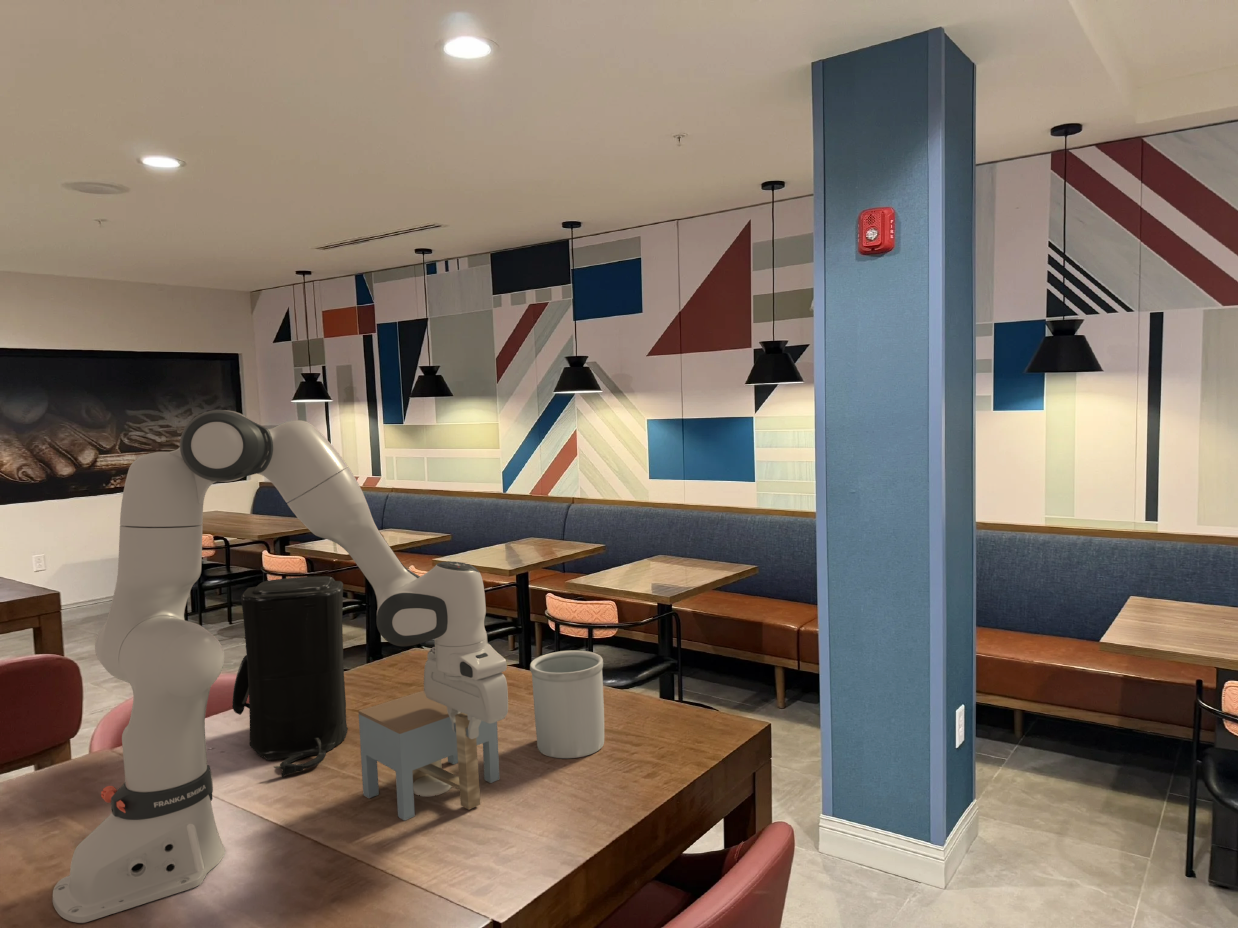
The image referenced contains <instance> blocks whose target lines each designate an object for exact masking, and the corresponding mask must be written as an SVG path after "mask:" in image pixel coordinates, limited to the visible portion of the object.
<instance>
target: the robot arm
mask: <svg viewBox="0 0 1238 928" xmlns="http://www.w3.org/2000/svg"><path fill="white" fill-rule="evenodd" d="M252 475H261V476H262V477H264V478H266V479H267V480H268V481H269V482H271V484H272V486H274V487H275V488H276V490H277V491H278V492H279V494H280V496H281V497H282V499H283V500H284V501H285V503H287V504H286V505H287V506H288V508H290V510H291V511H292V513H293V514H294V515H295V516H296V518H297V519H298V520H299V521H300V522H301V523H302V524H303V525H304V526H305V527H306V528H307V529H308V530H309V531H310V532H311V533H312V534H313V535H315V536H316V537H318V538H322V539H325V540H328V541H330V542H333V543H335V544H337V545H338V546H340V547H341V548H342V549H343V550H345V551H346V552H347V554H348V555H349V556H350V557H351V559H352V560H353V562H354V563H355V564H356V565H357V567H358V569H360V571H361V573H362V574H363V575H364V576H365V578H366V579H367V581H368V582H369V584H370V585H371V587H372V589H373V591H374V594H375V598H376V607H377V610H376V619H375V620H376V621H375V622H376V627H377V631H378V632H379V634H380V635H381V636H382V638H383V639H384V640H385V641H386V642H388V643H389V644H391V645H394V646H397V647H410V646H415V645H418V644H422V643H427V642H429V641H433V640H434V646H433V647H432V648H430V649H429V651H428V652H427V660H426V661H425V664H424V670H423V671H424V672H423V691H424V693H425V695H426V697H427V698H428V699H430V700H433V701H435V702H437V703H440V704H442V705H445V706H447V712H448V714H449V717H450V719H451V722H452V730H453V731H454V732H456V721H455V715H457V714H460V713H461V712H462V713H464V714H467V716H468V720H470V722H469V726H468V727H466V728H465V732H466V734H465V736H466V737H468V738H470V739H474V738H477V737H478V736H479V725H480V723H481V721H484V722H486V723H489V724H491V723H494V722H497V723H498V722H499V721H501V720H504V719H505V718H506V717H507V715H508V712H509V697H508V696H509V693H508V683H507V678H506V676H505V674H504V673H503V672H506V671H507V667H508V666H507V665H508V664H507V660H506V658H504V656H502V655H501V654H500V652H499V653H498V652H497V650H495V648H493V647H492V645H491V644H490V643H488V634H487V631H486V628H485V617H486V614H487V608H486V594H485V586H484V581H483V577H482V574H481V572H480V570H478V568H477V567H475V566H473V565H472V564H470V563H465V562H461V561H451V560H450V561H442V562H438V563H436V565H435V566H433V567H432V568H431V569H430V570H428V571H427V572H425V573H424V574H423V575H421V576H420V575H418V574H416V573H415V572H414V571H411V570H410V569H408V568H407V567H406V566H405V565H404V564H403V563H402V561H400V559H399V558H398V556H397V555H396V553H395V551H394V550H393V549H392V548H391V546H390V545H389V543H388V542H387V540H386V539H385V538H384V536H383V535H382V534H381V532H380V530H379V529H378V527H377V525H376V523H375V521H374V518H373V516H372V513H371V510H370V507H369V504H368V502H367V499H366V497H365V494H364V492H363V490H362V488H361V486H360V485H359V484H360V483H359V482H358V480H357V479H356V476H355V475H354V473H353V472H352V470H351V469H350V467H349V466H348V465H347V463H346V462H345V460H344V459H343V457H342V456H341V455H340V453H339V451H337V449H336V448H335V447H334V446H333V445H332V444H331V442H330V441H329V440H328V439H327V438H326V437H325V435H323V434H322V432H321V431H320V430H318V429H317V428H316V426H315V425H313V424H312V423H310V421H309V422H308V421H306V420H301V419H300V420H299V419H298V420H297V419H296V420H289V421H286V422H283V423H280V424H279V425H277V426H275V427H271V428H267V427H265V426H263V425H261V424H258V422H255V421H253V420H252V419H250V418H249V417H247V416H246V415H244V414H242V413H240V412H237V411H235V410H229V409H227V410H226V409H216V410H215V409H214V410H209V411H205V412H202V413H200V414H198V415H197V416H195V417H194V418H192V419H191V420H190V421H189V422H188V423H187V424H186V425H185V427H184V429H183V431H182V433H181V436H180V440H179V446H178V448H177V449H175V450H171V451H156V452H149V453H147V454H144V455H142V456H139V457H137V458H136V459H134V461H133V462H132V463H131V465H130V466H129V468H128V471H127V475H126V478H125V482H124V483H125V484H124V488H123V492H122V498H121V506H120V513H119V514H120V518H119V539H118V540H119V541H118V542H119V543H118V561H117V562H118V563H117V564H118V565H117V576H116V582H115V588H114V591H113V596H112V600H111V603H110V607H109V611H108V615H107V618H106V621H105V623H104V624H103V626H101V628H100V629H99V631H98V633H97V634H96V639H95V642H94V649H95V650H94V651H95V652H94V653H95V655H96V658H97V660H98V662H100V665H102V667H103V668H104V669H105V670H106V672H107V673H108V674H110V675H111V676H112V677H114V678H115V679H117V680H120V681H123V682H125V683H128V684H130V687H131V690H132V695H133V697H132V698H133V699H132V700H133V701H132V708H131V711H130V712H131V713H130V719H129V722H128V724H127V725H126V726H125V728H124V729H123V732H122V734H121V743H122V754H123V755H122V757H123V769H124V783H123V784H122V785H121V786H120V787H119V789H116V787H114V785H107V786H105V787H104V788H102V790H101V792H100V796H101V799H103V801H104V802H106V803H107V804H109V803H110V808H111V813H110V814H109V815H108V816H107V817H106V818H105V819H104V820H103V821H102V822H101V823H100V824H99V825H97V827H96V828H95V829H93V830H92V831H91V832H90V833H89V834H88V835H87V836H86V837H85V838H84V839H83V840H82V841H80V842H79V844H78V845H77V846H76V848H75V849H74V852H73V855H72V857H71V862H70V869H69V870H70V871H69V875H67V876H65V877H62V878H61V879H60V880H58V882H57V883H56V884H55V885H54V887H53V889H52V905H53V908H54V909H55V911H56V912H57V915H59V916H60V917H61V918H63V919H64V920H66V921H68V922H73V923H78V924H85V923H88V922H92V921H95V920H98V919H101V918H105V917H107V916H109V915H112V914H116V913H120V912H122V911H125V910H129V909H132V908H135V907H139V906H141V905H145V904H147V903H151V902H154V901H157V900H160V899H163V898H167V897H169V896H173V895H175V894H179V893H182V892H184V891H188V890H191V889H193V888H196V887H198V886H200V885H201V884H202V883H203V881H205V877H206V876H207V874H208V873H209V872H210V871H211V870H212V869H214V868H215V867H216V866H217V865H218V864H219V863H220V862H221V861H222V859H223V858H224V856H225V852H226V849H225V848H226V847H225V845H224V843H223V842H222V839H221V836H220V833H219V831H218V828H217V823H216V820H215V816H214V815H215V813H214V812H213V805H212V801H213V793H214V784H213V774H212V772H211V766H210V765H209V764H208V760H207V758H208V757H207V743H206V727H205V726H206V713H207V706H208V705H207V704H208V700H209V695H210V692H211V691H210V690H211V688H212V686H213V684H214V683H216V682H217V680H218V678H219V677H220V674H221V673H222V671H223V667H224V663H225V652H224V649H223V645H222V644H221V642H220V641H219V639H218V638H217V637H216V636H215V635H214V634H213V633H211V632H210V631H209V630H207V629H206V628H205V627H203V626H202V625H201V624H198V623H196V622H192V621H190V620H185V610H186V606H187V603H188V598H189V596H190V593H191V590H192V587H193V585H194V584H195V583H196V582H197V581H199V578H200V577H201V574H202V559H203V557H202V555H203V525H204V522H203V521H204V519H203V518H204V503H205V502H204V501H205V496H206V494H207V491H208V489H209V488H210V487H211V486H212V485H216V484H219V483H228V482H233V481H238V480H240V479H242V478H244V477H250V476H252Z"/></svg>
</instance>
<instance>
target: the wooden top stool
mask: <svg viewBox="0 0 1238 928" xmlns="http://www.w3.org/2000/svg"><path fill="white" fill-rule="evenodd" d="M461 713H462V712H461ZM358 723H359V724H358V725H359V729H358V730H359V744H360V760H361V761H360V762H361V777H362V781H361V782H362V796H364V797H366V798H367V799H371V798H374V797H375V796H378V795H380V792H379V791H380V790H379V789H380V788H379V770H378V763H380V764H382V765H383V766H385V767H388V768H389V769H391V770H393V771H395V781H396V782H395V783H396V784H395V785H396V802H397V803H396V805H397V817H398V818H399V819H401V820H403V821H407V820H409V819H411V818H414V817H415V816H416V815H415V797H414V794H415V793H414V792H413V773H412V771H413V770H415V769H418V768H420V767H423V766H426V765H428V764H431V763H433V762H436V761H438V760H441V761H442V760H443V759H446V758H447V763H449V764H451V765H457V764H458V753H457V737H456V732H454V731H453V730H452V722H451V719H450V717H449V714H448V712H447V706H445V705H442V704H440V703H437V702H435V701H433V700H430V699H428V698H427V697H426V695H425V693H424V690H421V691H417V692H413V693H412V694H408V695H405V696H402V697H399V698H395V699H392V700H389V701H385V702H382V703H378V704H377V705H376V704H375V705H373V706H369V707H366V708H363V709H359V710H358ZM498 736H499V735H498V721H497V722H494V723H491V724H489V723H486V722H484V721H481V723H480V725H479V736H478V737H477V738H476V741H477V746H480V745H482V756H483V778H484V779H483V780H484V781H486V782H488V783H490V784H492V783H495V782H496V781H499V780H501V779H500V757H499V739H498V738H499V737H498Z"/></svg>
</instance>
